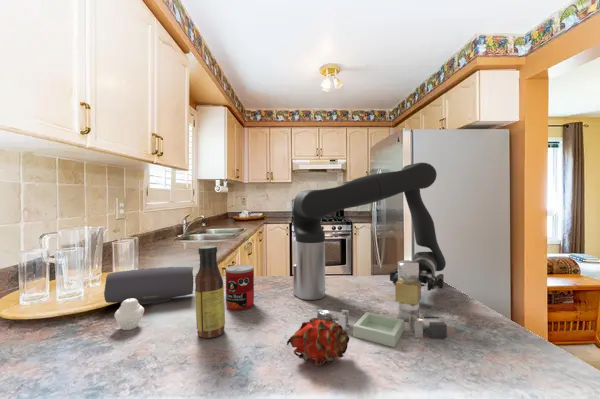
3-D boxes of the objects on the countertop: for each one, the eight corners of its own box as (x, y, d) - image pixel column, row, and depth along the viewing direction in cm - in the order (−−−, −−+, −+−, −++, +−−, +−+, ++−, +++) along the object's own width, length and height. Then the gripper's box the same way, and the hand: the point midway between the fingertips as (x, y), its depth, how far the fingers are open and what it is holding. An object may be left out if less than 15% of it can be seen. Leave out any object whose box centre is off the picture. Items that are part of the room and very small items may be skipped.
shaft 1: (349, 324, 71) (349, 310, 71) (344, 331, 67) (344, 317, 67) (321, 319, 73) (321, 306, 73) (315, 326, 69) (315, 312, 69)
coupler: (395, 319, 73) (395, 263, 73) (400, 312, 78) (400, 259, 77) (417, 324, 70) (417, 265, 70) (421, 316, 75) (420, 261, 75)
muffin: (140, 319, 74) (139, 292, 74) (147, 327, 69) (147, 298, 69) (111, 327, 69) (111, 298, 69) (118, 336, 65) (117, 305, 65)
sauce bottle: (230, 329, 68) (229, 245, 68) (214, 341, 62) (213, 249, 62) (207, 325, 70) (206, 243, 70) (189, 337, 64) (188, 248, 64)
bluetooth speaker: (193, 292, 95) (193, 262, 95) (192, 302, 86) (192, 268, 86) (113, 300, 88) (113, 267, 88) (103, 312, 79) (103, 275, 79)
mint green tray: (353, 336, 64) (353, 325, 64) (366, 321, 72) (366, 311, 72) (394, 347, 60) (394, 335, 60) (404, 330, 67) (404, 319, 67)
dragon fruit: (355, 371, 54) (292, 379, 55) (347, 328, 61) (291, 335, 62) (353, 349, 49) (283, 357, 50) (344, 305, 56) (283, 313, 57)
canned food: (220, 308, 81) (220, 269, 81) (236, 299, 88) (236, 263, 88) (243, 312, 78) (243, 272, 78) (258, 302, 85) (258, 265, 85)
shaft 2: (415, 338, 63) (415, 322, 63) (408, 329, 68) (408, 314, 68) (448, 338, 63) (448, 323, 63) (439, 329, 68) (439, 314, 68)
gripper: (398, 256, 95) (385, 267, 81) (446, 261, 88) (441, 273, 74) (398, 279, 95) (385, 293, 82) (446, 286, 88) (441, 303, 74)
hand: (411, 284), depth 78 cm, fingers open, 8 cm apart
